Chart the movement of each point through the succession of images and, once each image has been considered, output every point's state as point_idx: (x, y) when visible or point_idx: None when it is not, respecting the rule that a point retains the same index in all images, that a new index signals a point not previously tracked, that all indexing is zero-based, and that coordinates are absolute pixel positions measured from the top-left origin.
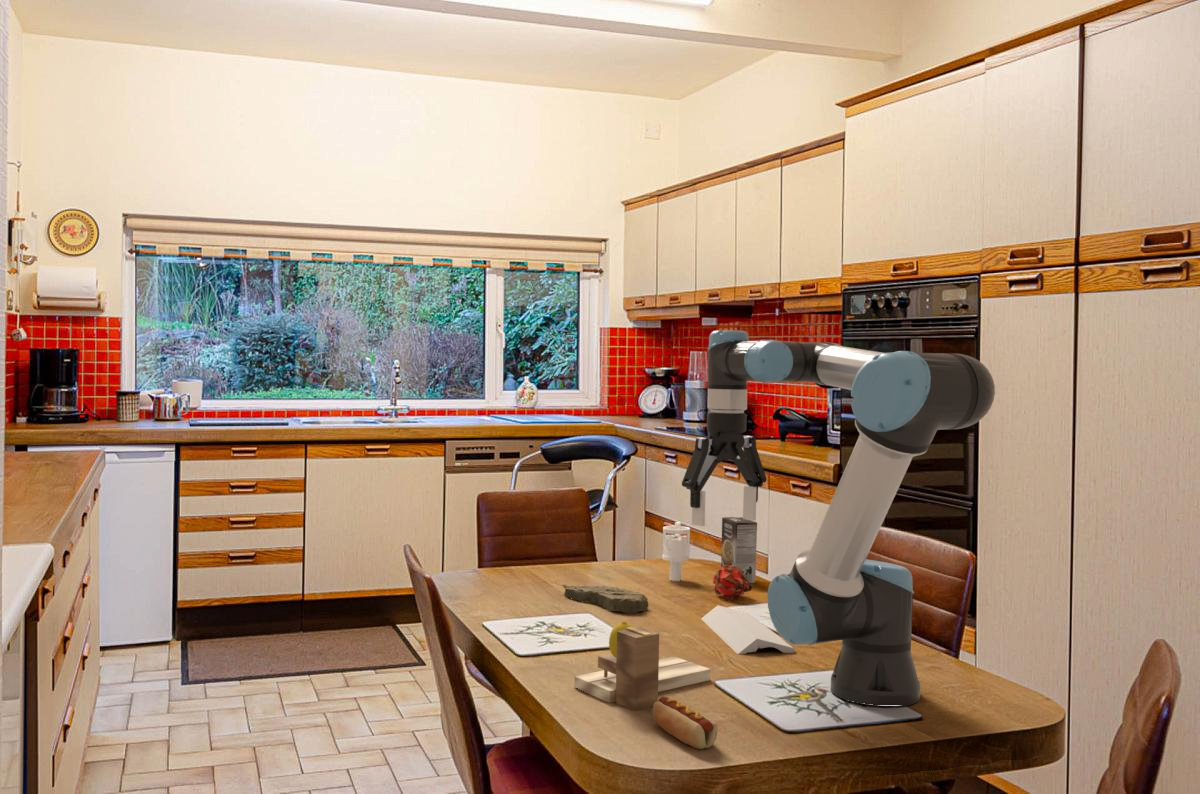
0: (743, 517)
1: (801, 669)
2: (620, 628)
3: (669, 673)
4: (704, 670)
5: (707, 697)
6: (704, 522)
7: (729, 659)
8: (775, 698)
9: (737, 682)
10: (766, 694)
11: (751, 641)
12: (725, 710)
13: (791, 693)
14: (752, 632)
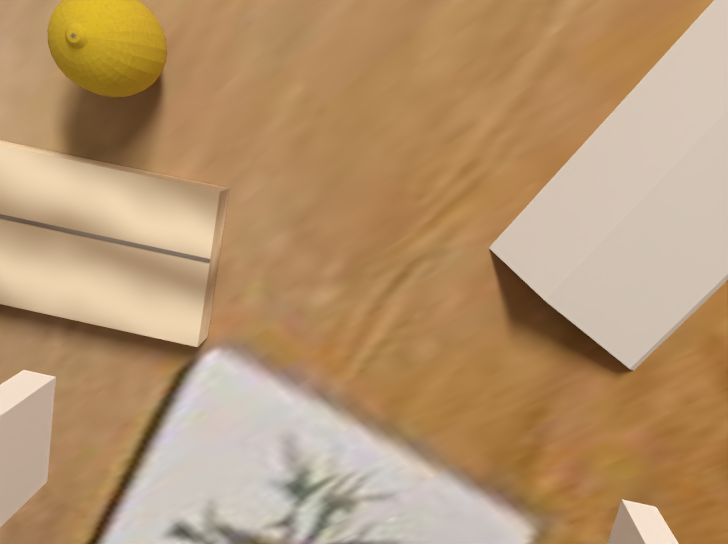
0: (625, 511)
1: (476, 460)
2: (53, 47)
3: (77, 290)
4: (175, 341)
5: (92, 407)
6: (28, 496)
7: (418, 262)
8: (210, 524)
9: (246, 397)
10: (219, 495)
11: (538, 279)
12: (54, 485)
13: (271, 533)
14: (622, 237)
